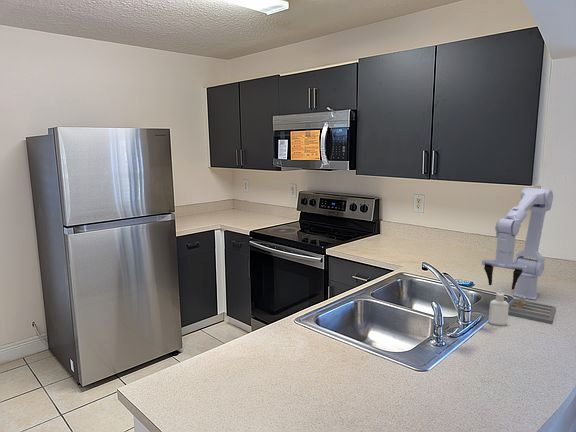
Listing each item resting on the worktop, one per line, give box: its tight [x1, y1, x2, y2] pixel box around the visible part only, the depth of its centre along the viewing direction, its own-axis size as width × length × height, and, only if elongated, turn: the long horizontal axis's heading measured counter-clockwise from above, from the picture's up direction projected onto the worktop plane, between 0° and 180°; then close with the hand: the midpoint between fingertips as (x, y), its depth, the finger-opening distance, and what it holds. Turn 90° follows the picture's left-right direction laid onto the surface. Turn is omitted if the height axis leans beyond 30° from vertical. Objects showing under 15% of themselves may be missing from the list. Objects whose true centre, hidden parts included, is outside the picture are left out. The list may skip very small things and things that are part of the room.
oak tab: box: [516, 300, 523, 309], centre depth 148 cm, size 2×2×3 cm
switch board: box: [508, 298, 557, 325], centre depth 149 cm, size 16×14×2 cm
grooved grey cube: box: [518, 295, 527, 303], centre depth 154 cm, size 2×2×3 cm
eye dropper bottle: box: [488, 289, 510, 326], centre depth 139 cm, size 4×6×12 cm
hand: (501, 286), depth 151 cm, fingers open, 7 cm apart
